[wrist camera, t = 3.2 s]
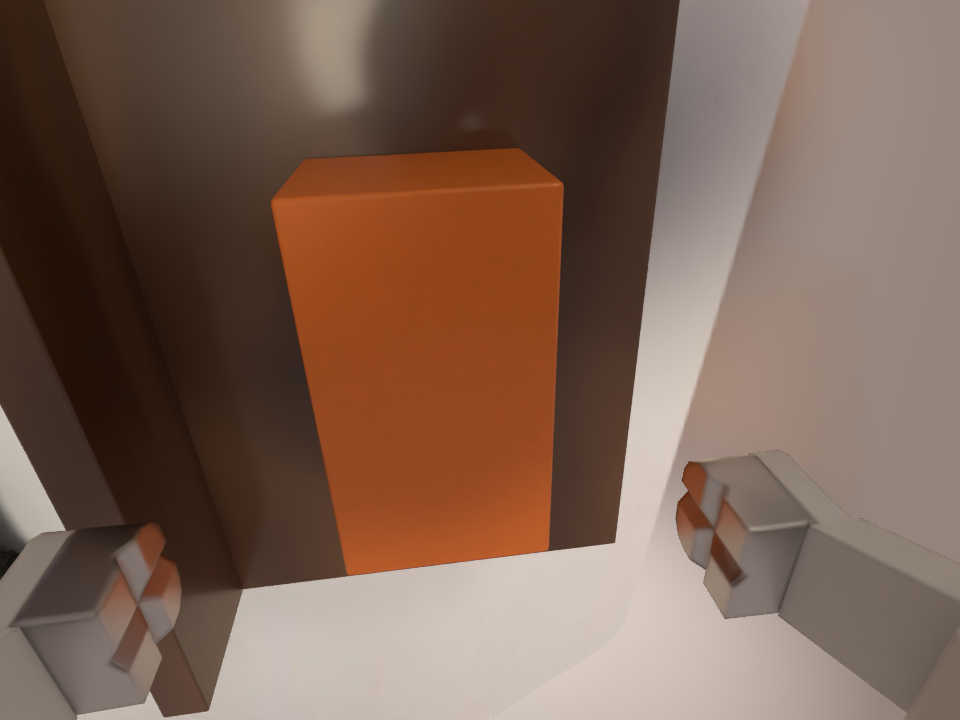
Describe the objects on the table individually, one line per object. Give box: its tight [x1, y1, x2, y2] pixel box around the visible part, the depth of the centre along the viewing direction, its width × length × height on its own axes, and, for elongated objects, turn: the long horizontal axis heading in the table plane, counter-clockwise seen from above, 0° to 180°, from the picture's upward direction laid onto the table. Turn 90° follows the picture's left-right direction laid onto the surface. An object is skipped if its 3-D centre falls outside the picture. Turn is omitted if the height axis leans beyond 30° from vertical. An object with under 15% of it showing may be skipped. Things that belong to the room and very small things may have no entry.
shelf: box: [0, 0, 680, 717], centre depth 18 cm, size 14×18×14 cm
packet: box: [270, 148, 564, 575], centre depth 13 cm, size 5×9×4 cm, turn 2°
